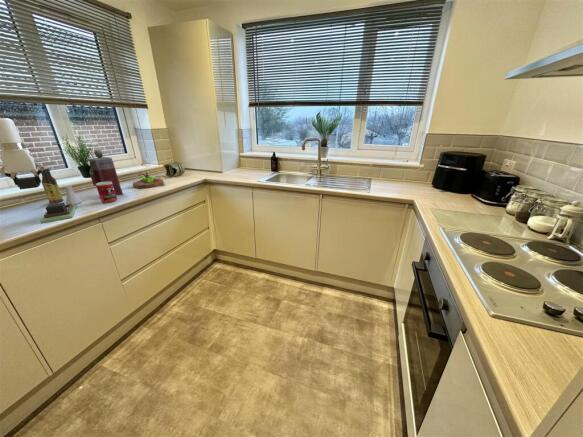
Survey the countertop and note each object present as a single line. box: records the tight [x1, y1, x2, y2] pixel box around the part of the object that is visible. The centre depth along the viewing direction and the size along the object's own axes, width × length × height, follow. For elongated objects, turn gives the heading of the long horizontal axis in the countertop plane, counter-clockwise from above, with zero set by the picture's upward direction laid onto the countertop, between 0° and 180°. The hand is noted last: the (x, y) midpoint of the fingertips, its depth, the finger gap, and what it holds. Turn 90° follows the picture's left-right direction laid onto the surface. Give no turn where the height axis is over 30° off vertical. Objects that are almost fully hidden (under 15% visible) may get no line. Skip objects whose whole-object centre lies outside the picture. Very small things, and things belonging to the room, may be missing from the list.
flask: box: [63, 185, 83, 205], centre depth 137 cm, size 7×7×10 cm
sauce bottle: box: [40, 167, 64, 204], centre depth 138 cm, size 7×6×20 cm
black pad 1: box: [16, 176, 41, 190], centre depth 116 cm, size 6×6×4 cm
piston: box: [163, 161, 186, 179], centre depth 201 cm, size 11×12×11 cm
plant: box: [132, 169, 165, 190], centre depth 174 cm, size 20×20×11 cm
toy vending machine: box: [88, 149, 124, 197], centre depth 147 cm, size 9×11×28 cm
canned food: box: [95, 181, 118, 204], centre depth 138 cm, size 8×8×11 cm
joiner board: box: [40, 204, 78, 224], centre depth 121 cm, size 11×22×3 cm, turn 35°
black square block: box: [45, 202, 67, 214], centre depth 118 cm, size 6×6×4 cm
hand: (29, 184), depth 117 cm, fingers closed on black pad 1, 6 cm apart
